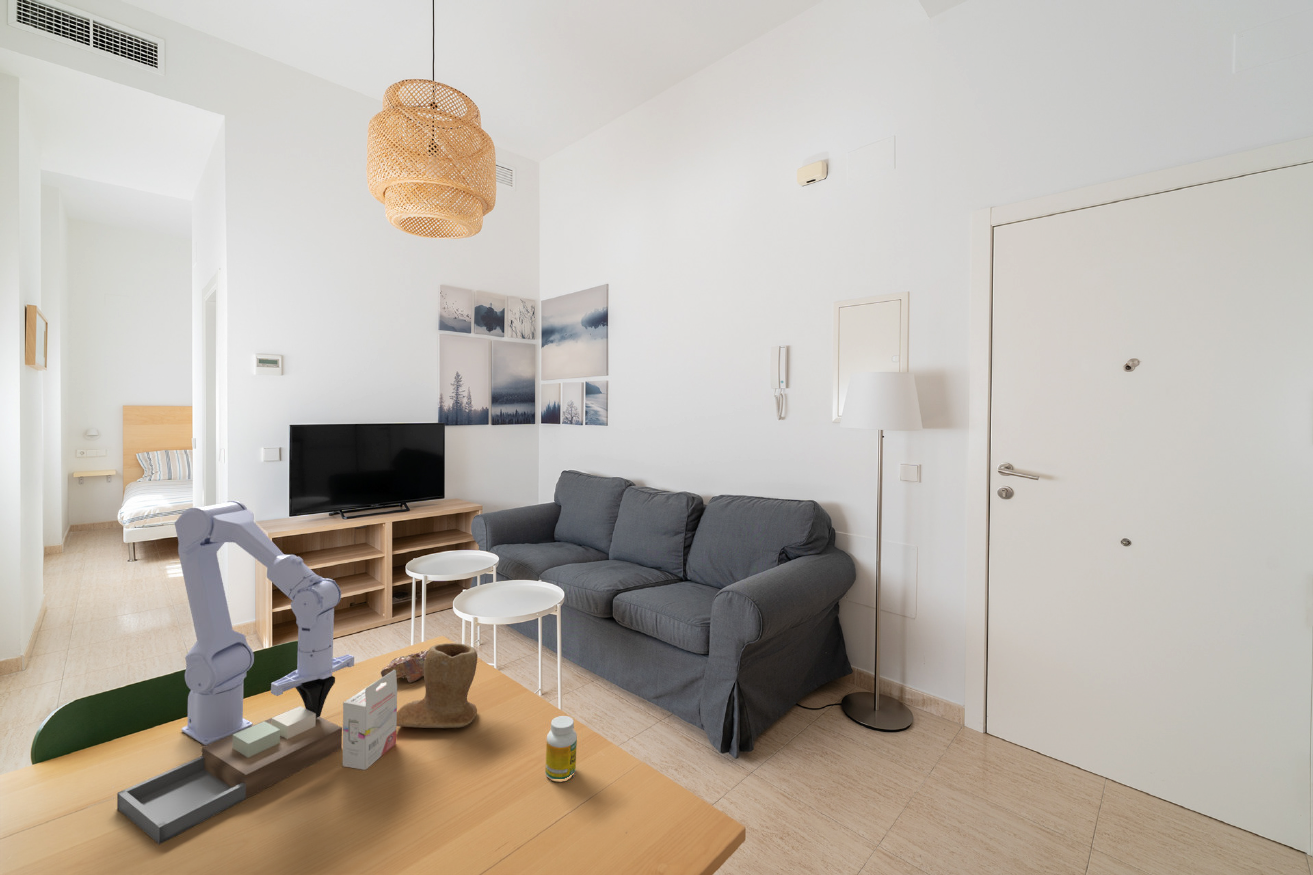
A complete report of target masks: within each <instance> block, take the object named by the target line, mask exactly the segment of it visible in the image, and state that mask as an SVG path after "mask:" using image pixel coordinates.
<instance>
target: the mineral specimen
mask: <svg viewBox="0 0 1313 875" xmlns="http://www.w3.org/2000/svg"><path fill="white" fill-rule="evenodd" d="M428 650H429V649H428ZM428 650H427V649H425V650H421V651H420V652H416V653H411V654H408V655H406V656H402V655H401V656H399V657H395V658H393V659H392V660H391V662H389V663H388V664H387V666H385V667H384V668H382V670H381V671H380V676H381V678H382V677H384V676H385V675H387V674H389V673H390V672H392V671H393V670H396V678H401V679H407V681H408V682H407V683H409V684H410V683H413V682H416V681H417V680H419V679H421V678H422V677H424V661H425V656H426V654H427V652H428Z"/></svg>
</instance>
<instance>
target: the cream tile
mask: <svg viewBox="0 0 1313 875" xmlns="http://www.w3.org/2000/svg"><path fill="white" fill-rule="evenodd" d="M296 707H297V708H296ZM296 707H294V708H291V709H292V710H291V709H288V710H287V711H285V713H284V712H282V713H280V715H279V714H278V716H277V715H275V716H273V718H272V717H271V718H272V726H274V727H276V728H278V729H280V736H282V737H284V738H286V739H289V738H291V737H293V736H295V735H298V734H300V733H302V732H304V731H306V730H308V729H310V728H313V727H315V722H316V713H313V712H311V711H309V710H307V709H306V708H305V707H303V706H301V705H299V707H298V706H296Z"/></svg>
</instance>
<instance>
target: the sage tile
mask: <svg viewBox="0 0 1313 875" xmlns="http://www.w3.org/2000/svg"><path fill="white" fill-rule="evenodd" d="M263 721H264V722H263ZM263 721H261V722H259V724H258V723H256V724H257V725H256V724H253V725H252V727H250V728H249V727H248V728H246V729H245V730H243V731H242V730H241V731H240V732H238V733H236V734H235V733H234V734H233V749H235V750H236V751H238V752H240V753H241V754H243V755H245V756H246V757H251V756H253V755H255V754H257V753H259V752H261V751H263V750H266V749H268V748H270V747H272V746H274V745H276V744H278V743H280V729H278V728H276V727H274V726H272V725H271V724H269V723H267V722H265V720H263Z"/></svg>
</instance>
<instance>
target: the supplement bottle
mask: <svg viewBox="0 0 1313 875" xmlns="http://www.w3.org/2000/svg"><path fill="white" fill-rule="evenodd" d="M574 724H575V722H574V718H572V717H570V716H569V715H559V716H556V717H554V718H553V719H552V720H551V721H550V730H549V732H548V733H547V735H546V744H545V745H546V748H545V749H546V750H545V776H546V775H547V776H546V778H547V777H549V778H550V779H565V778H567V777H569V776H570V775H572V774H573V773H574V772H575V773H576V768H577V767H576V765H577V746H578V745H577V744H578V740H577V739H578V735H577V732H576V730H574V728H575V725H574Z"/></svg>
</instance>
